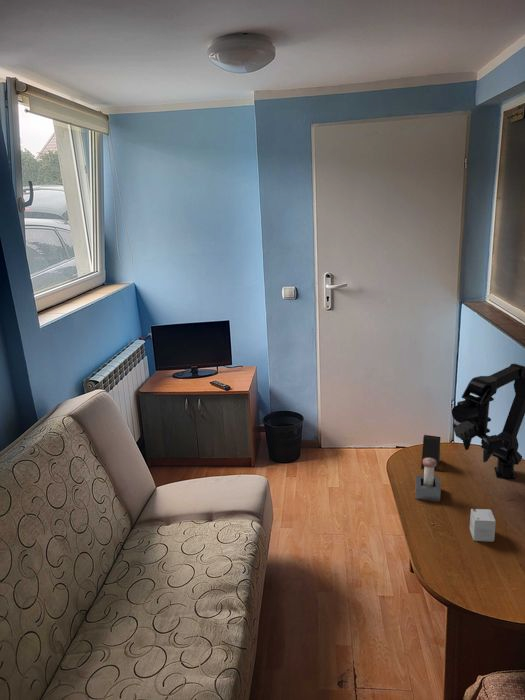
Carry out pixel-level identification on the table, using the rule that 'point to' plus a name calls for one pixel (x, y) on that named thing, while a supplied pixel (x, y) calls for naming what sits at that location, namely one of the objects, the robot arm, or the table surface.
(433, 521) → the table surface
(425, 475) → the pin
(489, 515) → the skincare box
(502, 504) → the table surface
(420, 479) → the block
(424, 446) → the phone stand
